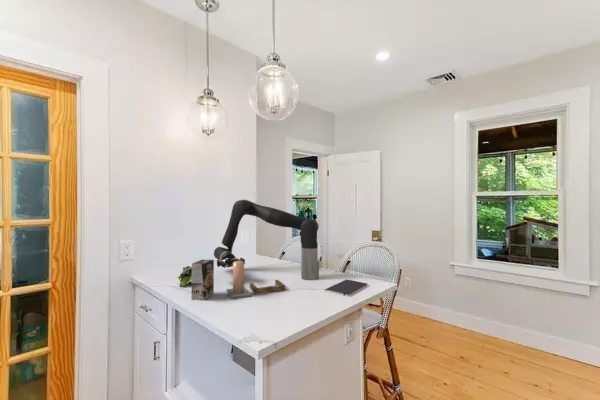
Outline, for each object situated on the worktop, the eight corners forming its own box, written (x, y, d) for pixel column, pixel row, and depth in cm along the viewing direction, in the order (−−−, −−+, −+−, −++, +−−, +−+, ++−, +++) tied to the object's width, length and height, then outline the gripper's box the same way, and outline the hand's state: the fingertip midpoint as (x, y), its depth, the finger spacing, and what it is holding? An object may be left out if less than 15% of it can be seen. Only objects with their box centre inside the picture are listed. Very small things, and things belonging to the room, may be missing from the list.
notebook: (346, 282, 156) (325, 292, 139) (346, 279, 156) (325, 289, 139) (368, 286, 148) (348, 297, 131) (368, 283, 148) (348, 294, 131)
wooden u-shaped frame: (277, 284, 150) (277, 279, 150) (285, 290, 140) (285, 285, 140) (249, 288, 144) (249, 283, 144) (255, 294, 134) (255, 289, 134)
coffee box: (204, 300, 126) (204, 263, 126) (190, 299, 128) (190, 263, 127) (214, 293, 135) (214, 259, 135) (201, 292, 136) (201, 258, 136)
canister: (242, 289, 138) (242, 260, 138) (244, 292, 133) (245, 262, 133) (232, 291, 136) (232, 261, 136) (234, 294, 131) (234, 263, 131)
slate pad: (244, 288, 142) (244, 286, 142) (250, 296, 131) (250, 294, 131) (226, 291, 139) (226, 289, 139) (230, 299, 128) (230, 297, 128)
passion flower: (186, 292, 153) (193, 271, 160) (201, 291, 149) (208, 269, 156) (170, 285, 145) (178, 263, 152) (186, 284, 141) (194, 261, 148)
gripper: (214, 253, 158) (218, 258, 143) (240, 251, 163) (247, 256, 149) (214, 266, 158) (218, 273, 143) (240, 264, 163) (247, 271, 149)
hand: (233, 265), depth 146 cm, fingers open, 8 cm apart
